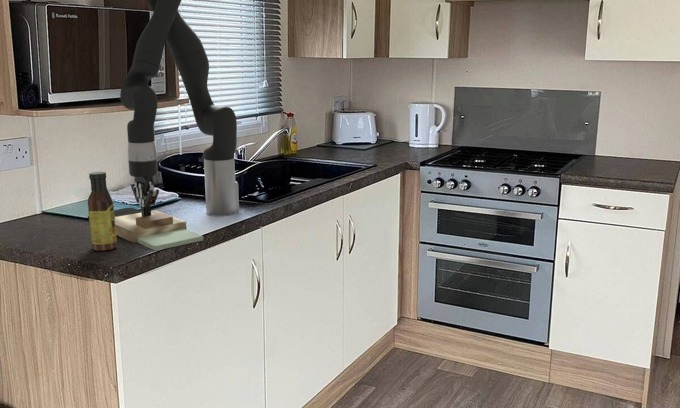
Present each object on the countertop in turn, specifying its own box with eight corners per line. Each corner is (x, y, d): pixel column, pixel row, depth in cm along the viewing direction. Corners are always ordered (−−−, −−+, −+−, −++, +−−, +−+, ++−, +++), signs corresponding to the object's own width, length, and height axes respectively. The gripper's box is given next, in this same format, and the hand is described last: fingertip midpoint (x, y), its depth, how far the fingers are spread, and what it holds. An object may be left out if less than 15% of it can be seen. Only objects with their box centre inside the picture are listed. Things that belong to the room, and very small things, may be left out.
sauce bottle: (119, 249, 176) (113, 173, 171) (94, 253, 173) (87, 176, 168) (114, 243, 181) (108, 169, 177) (89, 246, 178) (82, 171, 174)
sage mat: (184, 232, 191) (184, 228, 191) (203, 240, 184) (203, 236, 184) (137, 242, 182) (137, 238, 182) (155, 250, 175) (155, 246, 175)
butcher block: (156, 219, 205) (155, 210, 205) (186, 231, 192) (186, 221, 192) (104, 229, 195) (103, 219, 194) (133, 242, 182) (132, 231, 181)
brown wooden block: (162, 219, 193) (162, 213, 193) (173, 223, 189) (172, 216, 188) (136, 224, 188) (135, 217, 188) (146, 229, 184) (145, 221, 183)
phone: (143, 210, 213) (100, 220, 202) (143, 214, 213) (100, 223, 202) (129, 207, 218) (85, 215, 207) (129, 210, 218) (86, 219, 207)
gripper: (166, 159, 185) (170, 221, 189) (144, 153, 195) (148, 212, 199) (140, 162, 180) (144, 226, 184) (119, 156, 190) (123, 216, 194)
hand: (146, 219), depth 192 cm, fingers closed
